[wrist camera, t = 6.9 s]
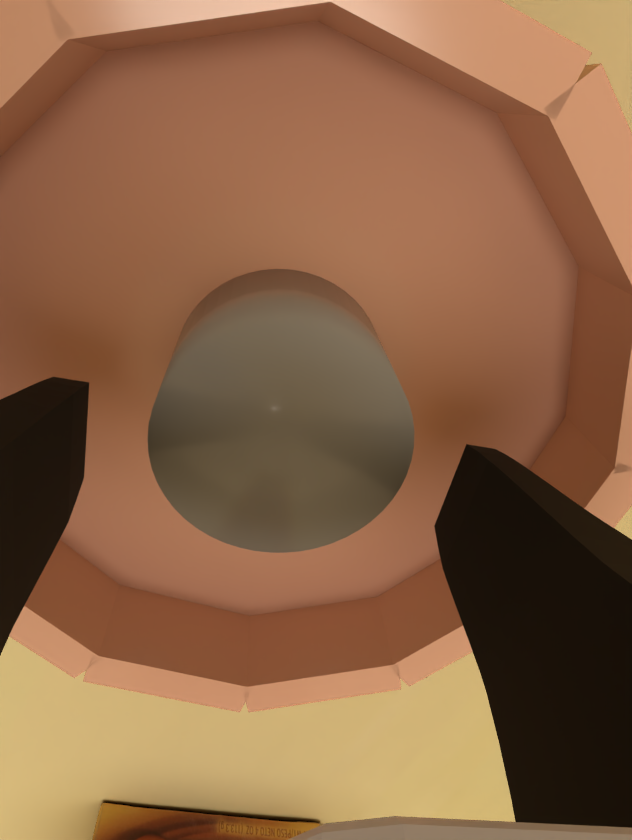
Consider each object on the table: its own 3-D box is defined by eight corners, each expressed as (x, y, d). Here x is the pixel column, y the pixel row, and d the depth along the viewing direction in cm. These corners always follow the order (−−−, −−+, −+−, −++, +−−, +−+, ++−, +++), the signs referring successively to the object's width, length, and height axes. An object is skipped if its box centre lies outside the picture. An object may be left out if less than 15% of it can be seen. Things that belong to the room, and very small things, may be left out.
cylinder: (129, 356, 13) (88, 433, 10) (298, 221, 12) (308, 262, 9) (265, 491, 15) (264, 589, 12) (420, 385, 14) (462, 465, 11)
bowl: (-238, 329, 13) (-374, 390, 10) (348, -280, 9) (383, -440, 7) (240, 686, 20) (235, 781, 17) (693, 415, 16) (782, 481, 13)
